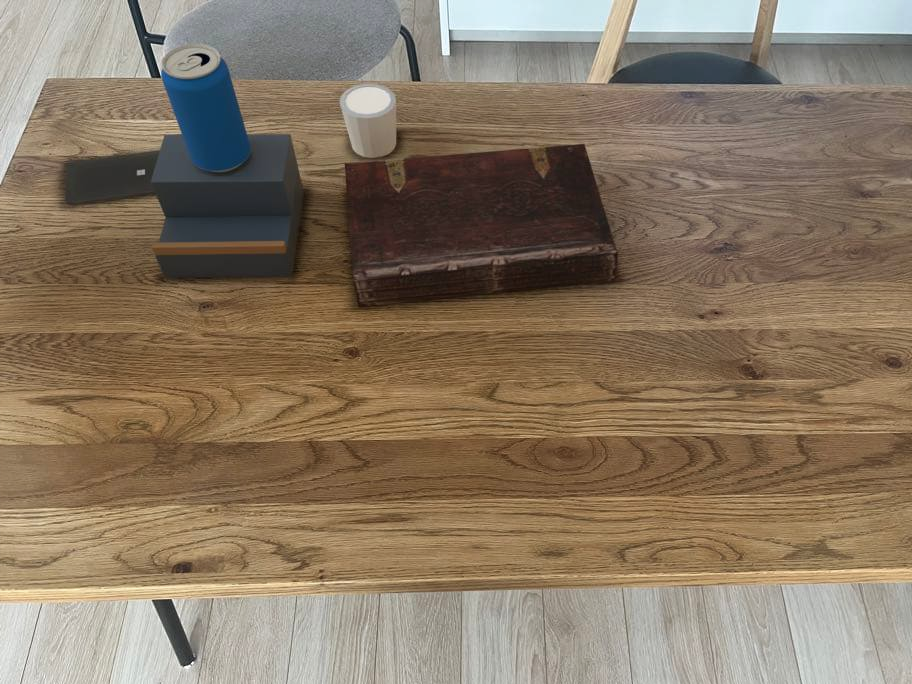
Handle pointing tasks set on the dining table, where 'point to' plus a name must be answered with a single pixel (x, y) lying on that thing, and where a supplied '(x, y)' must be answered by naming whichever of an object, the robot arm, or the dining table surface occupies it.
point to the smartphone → (110, 178)
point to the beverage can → (205, 107)
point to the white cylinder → (370, 119)
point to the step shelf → (229, 211)
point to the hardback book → (476, 224)
